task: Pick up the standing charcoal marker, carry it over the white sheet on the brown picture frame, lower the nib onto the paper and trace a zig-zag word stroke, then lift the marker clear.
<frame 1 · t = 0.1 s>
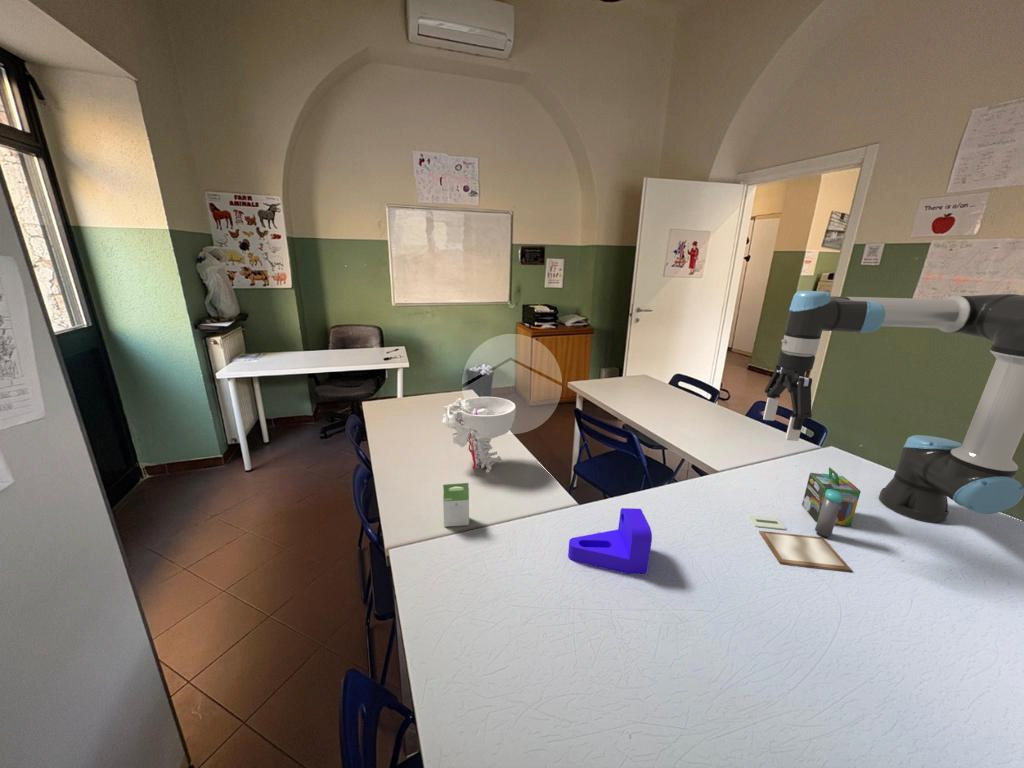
hand: (779, 429, 109), 28 cm above the table, fingers open, 13 cm apart
ink box: (456, 522, 113), on the table
bracket: (603, 558, 101), on the table
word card: (766, 522, 115), on the table
brown picture frame: (802, 551, 104), on the table
marker: (822, 534, 110), on the table
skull: (479, 466, 143), on the table
chalk box: (824, 515, 119), on the table
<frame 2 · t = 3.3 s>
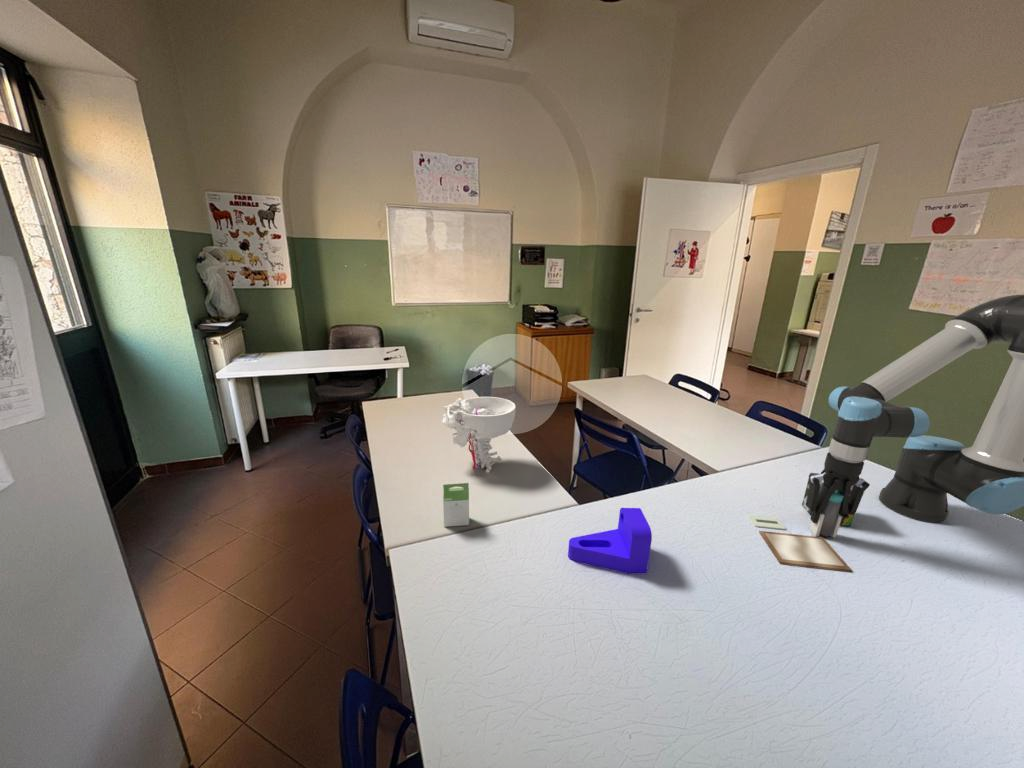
hand: (822, 533, 110), 1 cm above the table, fingers closed on marker, 3 cm apart
marker: (822, 534, 110), on the table, touching gripper
everything else where it was.
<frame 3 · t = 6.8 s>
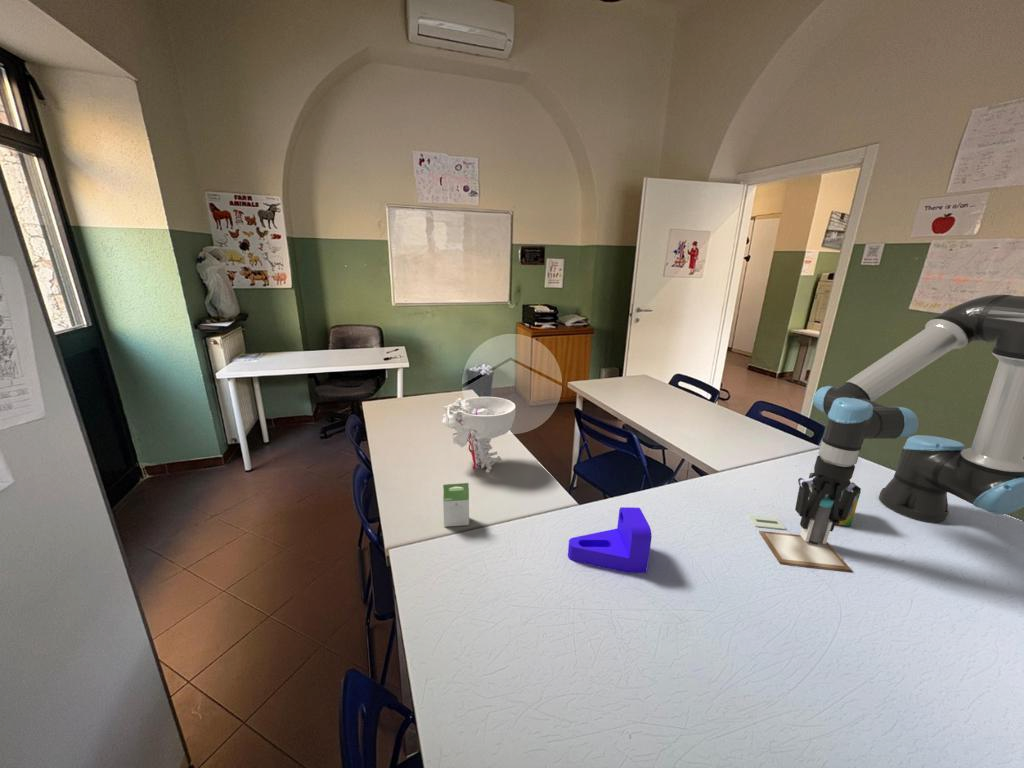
hand: (812, 538, 106), 2 cm above the table, fingers closed on marker, 3 cm apart
marker: (812, 540, 106), point 1 cm above the table, touching gripper
everything else where it was.
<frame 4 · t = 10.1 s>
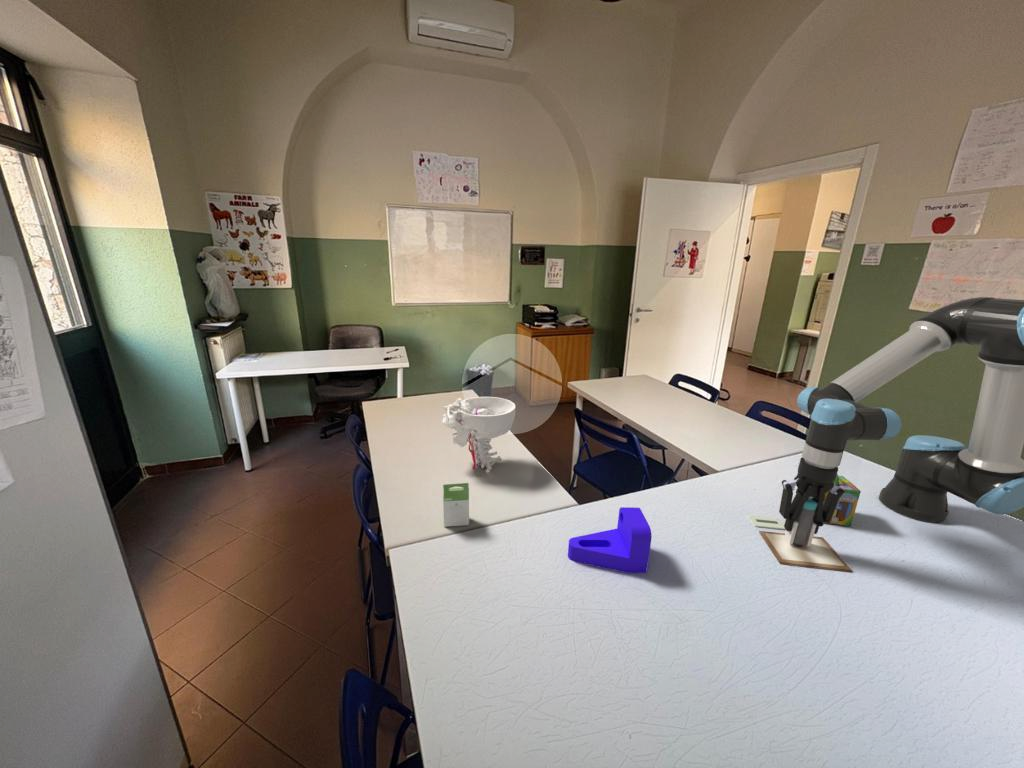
hand: (797, 541, 105), 2 cm above the table, fingers closed on marker, 3 cm apart
marker: (796, 543, 105), point 1 cm above the table, touching gripper
everything else where it was.
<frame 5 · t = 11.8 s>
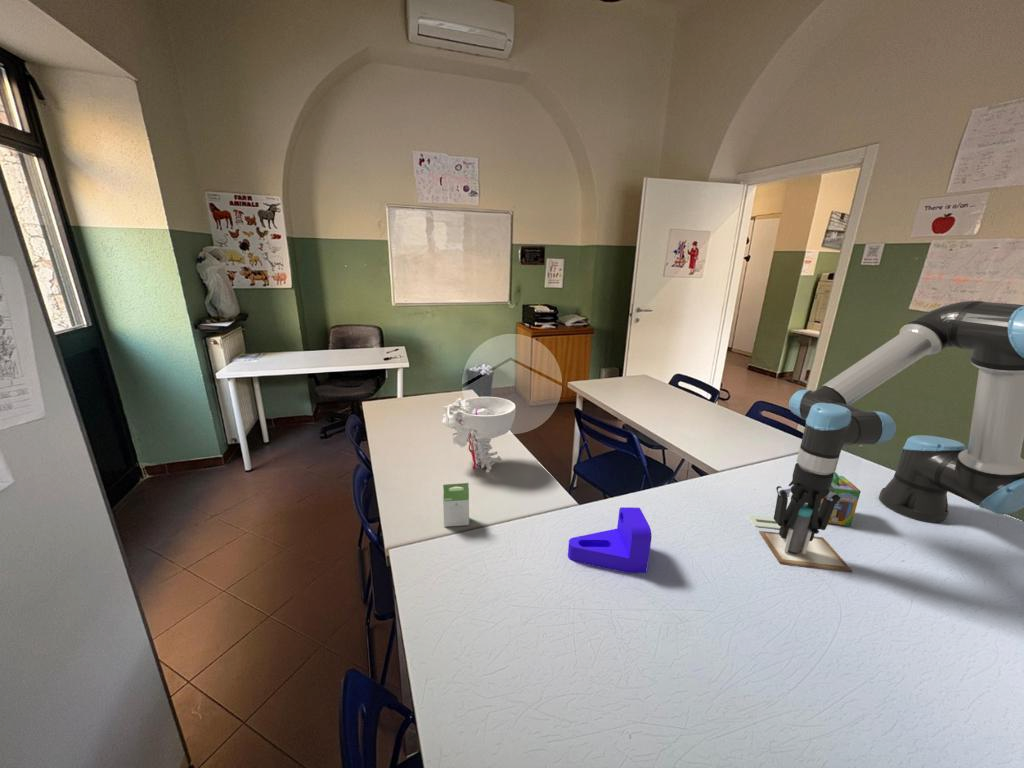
hand: (792, 548, 103), 1 cm above the table, fingers closed on marker, 3 cm apart
marker: (791, 550, 103), point 1 cm above the table, touching gripper
everything else where it was.
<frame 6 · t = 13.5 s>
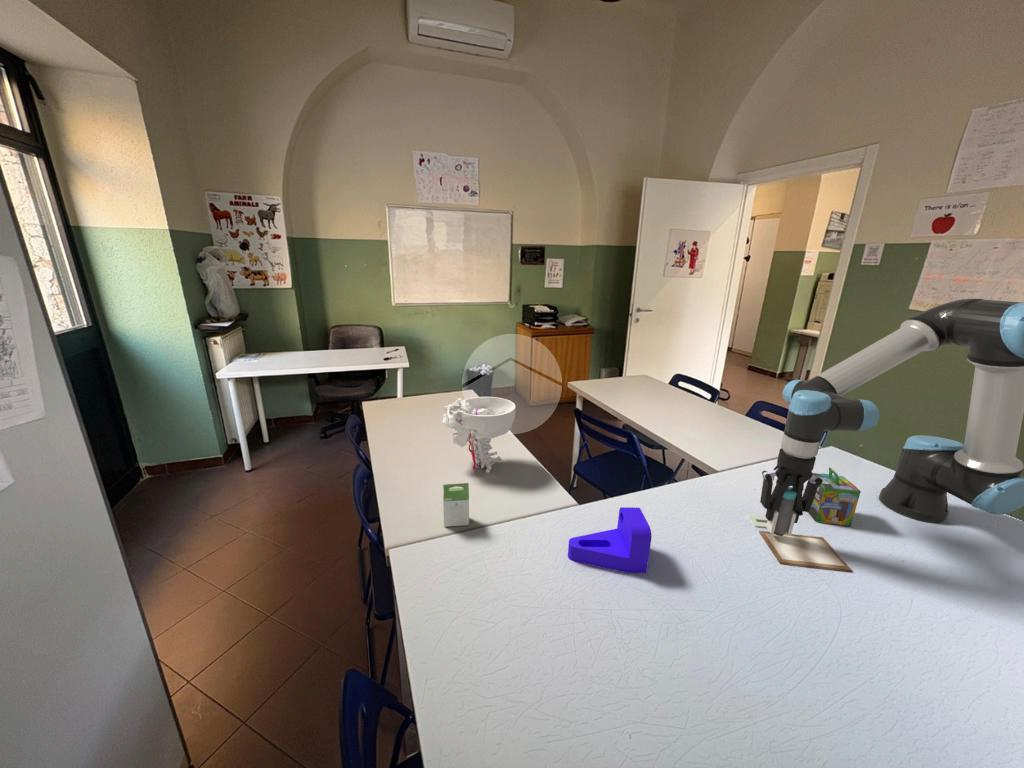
hand: (778, 530, 107), 3 cm above the table, fingers closed on marker, 3 cm apart
marker: (777, 532, 107), point 2 cm above the table, touching gripper
everything else where it was.
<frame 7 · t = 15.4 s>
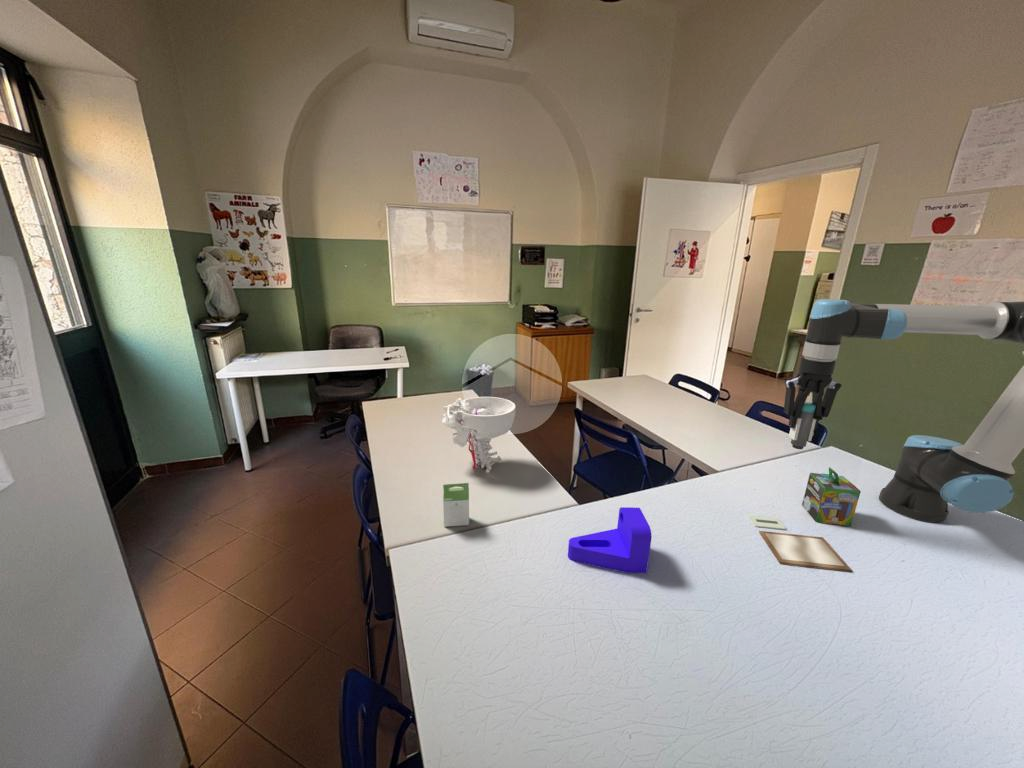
hand: (799, 438, 114), 23 cm above the table, fingers closed on marker, 3 cm apart
marker: (797, 447, 115), point 21 cm above the table, touching gripper
everything else where it was.
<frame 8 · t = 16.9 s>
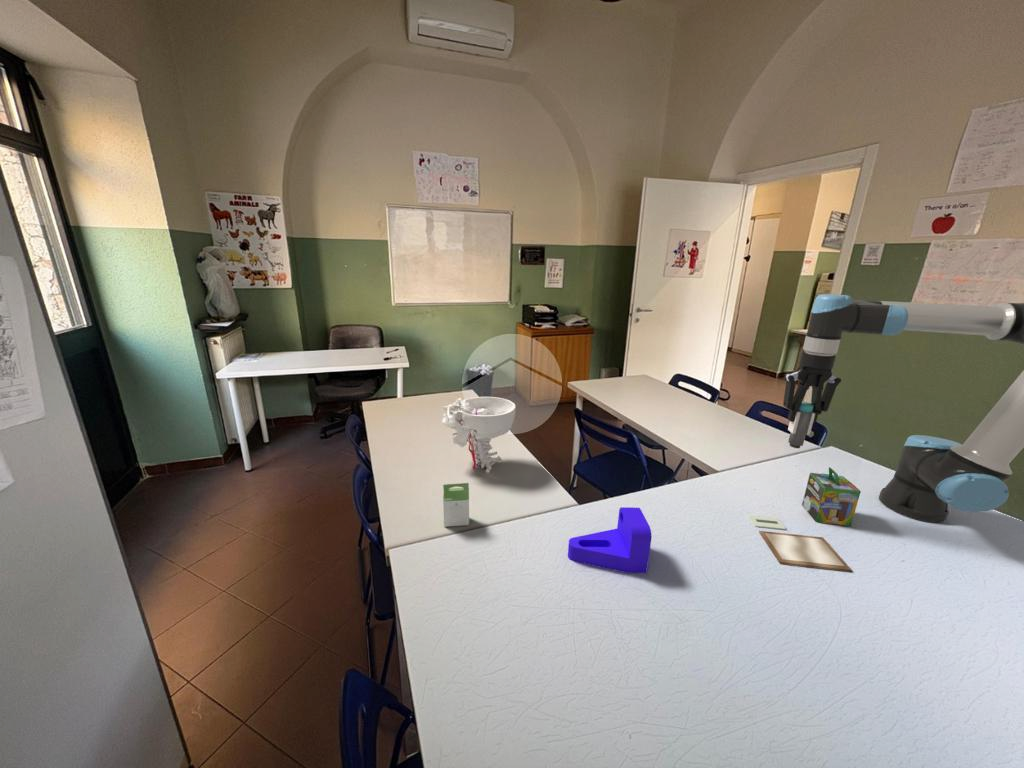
hand: (798, 432, 116), 25 cm above the table, fingers closed on marker, 3 cm apart
marker: (794, 446, 117), point 20 cm above the table, touching gripper
everything else where it was.
at the end: the gripper is holding marker; marker point 20.0 cm above the table; marker moved 24.4 cm from its start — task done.
